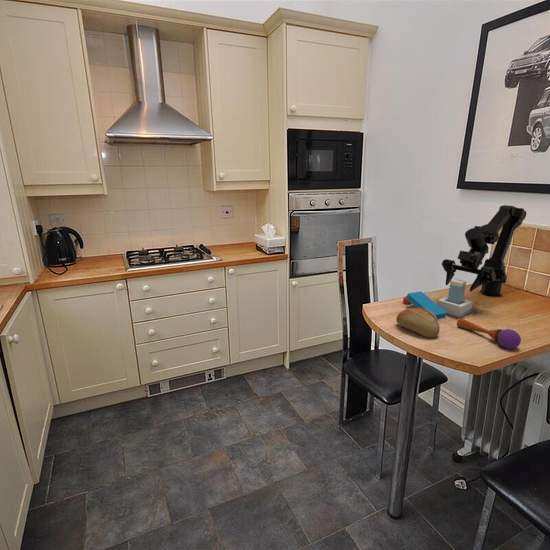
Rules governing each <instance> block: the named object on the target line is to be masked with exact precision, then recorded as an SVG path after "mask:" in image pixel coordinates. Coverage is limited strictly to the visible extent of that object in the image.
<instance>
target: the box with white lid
mask: <svg viewBox="0 0 550 550" xmlns="http://www.w3.org/2000/svg"><path fill="white" fill-rule="evenodd" d="M466 287H467V281H466V280H461V279H458V278H454V279H451V281H450V283H449V288H448V290H449V291H448V295H447V296H448V302H451V303H455V304H458V305H460V304H462V303H463V299H465V298H464V297H465V291H466Z"/></svg>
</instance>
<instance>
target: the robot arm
mask: <svg viewBox="0 0 550 550" xmlns="http://www.w3.org/2000/svg"><path fill="white" fill-rule="evenodd" d="M526 217H527V211H526V210H525V208H522V207H516V206H514V205H508V204H507V205H505V204H503V205H500V206H499V208H498V211H497V212H496V213H495V215H494V216H492V218H491V219H490V221H489V222H488V223H487V224H484V225H481V226H480V225H475V226H474V227H473V228H470V229H469V228H468V230H466V231H465V233H464V237H465V239H466V242H467V244H468V247H469V248H470V249H469V251H466V250H465V251H464V250H460V251H459V254H458V256H457V260H459V264H457V263H456V261H455V260H452V259H447V258H446V259H443V260H442V261H441V266H442V267H443V271H444V272H446V277H445V286H448V285H450V281H451V280H453V278H454V276H455V273H456V272H457V270H458V271H461V272H466V273H469V274H470V273H471V274H474V275H476V277H475V279H474V281H473V283H472V284H471V286H470V287H469V292H473V291H474V290H475V289H477V288H479V287H481V290H479V292H480V293H482V294H483V295H485V296H487V297H502V296H503V294H502V293H501V291H502V286H503V285H502V284H506V282H507V279H508V276H507V272H506V265H505V262H504V261H505V258H506V254H507V252H508V249H509V247H510V244H511V241H512V238H513V237H514V233H515V231H516V229H518V227H520V226H521V225H522V224H523V222H524V220H525V219H526ZM500 230H501V231H500ZM499 232H500V233H499ZM495 243H496V244H495ZM494 244H495V246H494V249H493V252H492V255H491V257H490V258H486V259H485V260H484V258H485V256H486V254H489V248H490V247H489V246H488V245H494ZM483 260H484V264H483ZM460 264H461V265H460ZM480 265H482V266H481V267H480ZM479 267H480V268H479Z"/></svg>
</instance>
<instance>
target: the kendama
mask: <svg viewBox="0 0 550 550" xmlns="http://www.w3.org/2000/svg"><path fill="white" fill-rule="evenodd" d="M456 326H457V327H458V328H461V329H465V330H468V331H469V330H470V331H475V332H479V333H484V334H487V335H488V336H489V337H490V338H491V339H492V340H493V341H494V342H497V343H498V344H499V345H500V346H501V347H503V348H505V349H508V350H513V349H516V348H517V347H519V346H520V345H521V341H522V339H521V335H520V334H519V333H518V332H517V331H516V330H513V329H510V328H507V329H506V328H505V329H501V328H500V329H489V330H488V329H486V328H484V327H483V326H479V325H477V324H475V323H473V322H470V321H469V320H466V319H465V318H460V319H459V320H458V319H457V322H456Z"/></svg>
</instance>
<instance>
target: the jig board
mask: <svg viewBox="0 0 550 550" xmlns="http://www.w3.org/2000/svg"><path fill="white" fill-rule="evenodd" d="M437 305H439V306H440V307H441V308H442V309H443V310H445V311H446V312H447V314H446V317H449V316H450V317H449V318H452V317H453V318H452V319H455V318H456V320H458V319H460V318H462V319H464V318H466V317H468V316H470V315H472V314H474V313H476V312H478V308H477V307H475V306H473V301H472V300H468V299H465V298H464V299H463V303H462V304H460V305H458V304H455V303H451V302H448V295H447V296H445V297H442V298H440V299H438V301H437ZM469 314H470V315H469ZM465 316H466V317H465ZM463 317H464V318H463Z"/></svg>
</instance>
